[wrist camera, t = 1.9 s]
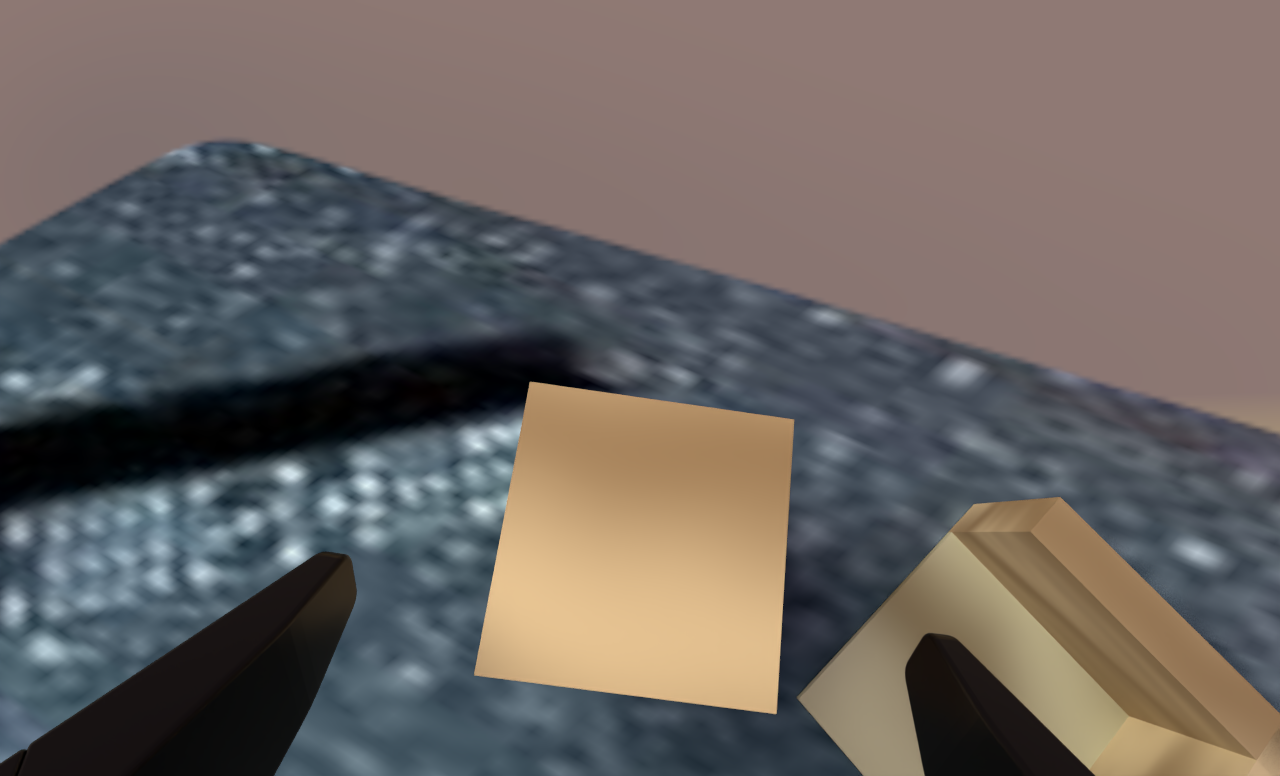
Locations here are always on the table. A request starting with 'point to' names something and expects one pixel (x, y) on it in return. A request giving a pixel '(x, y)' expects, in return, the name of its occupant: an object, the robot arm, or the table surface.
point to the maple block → (642, 550)
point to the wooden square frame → (1049, 655)
